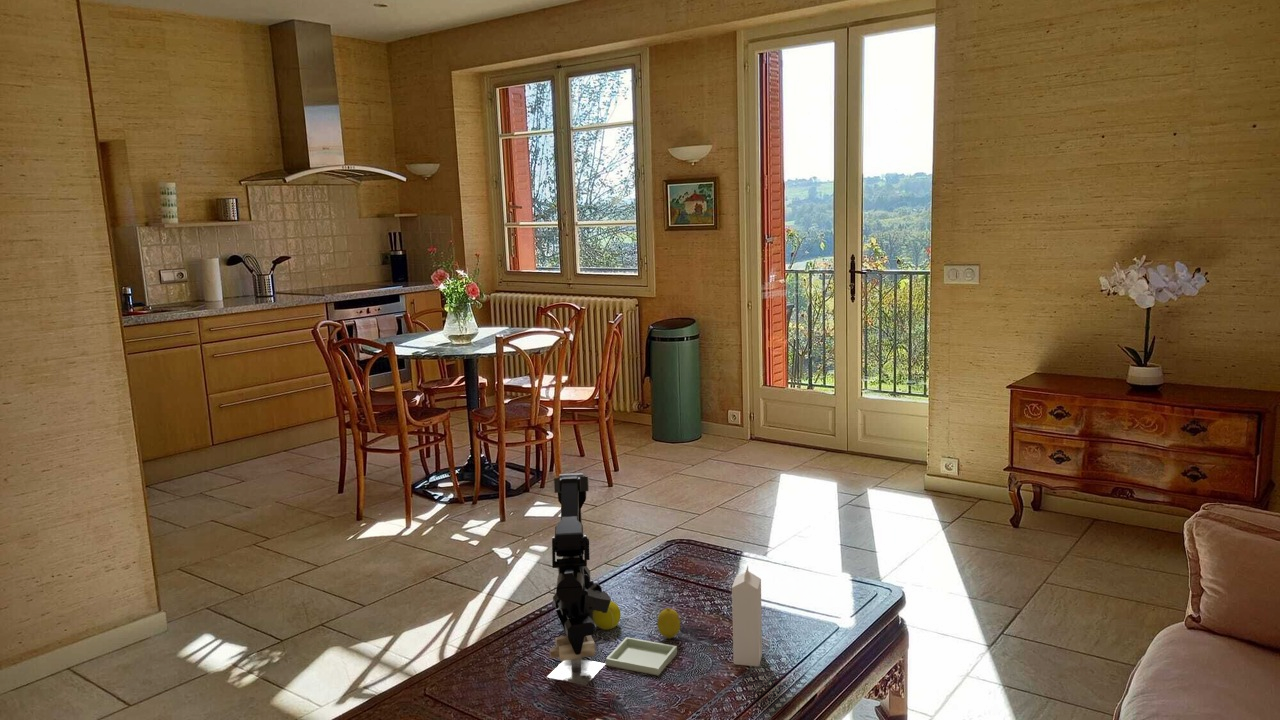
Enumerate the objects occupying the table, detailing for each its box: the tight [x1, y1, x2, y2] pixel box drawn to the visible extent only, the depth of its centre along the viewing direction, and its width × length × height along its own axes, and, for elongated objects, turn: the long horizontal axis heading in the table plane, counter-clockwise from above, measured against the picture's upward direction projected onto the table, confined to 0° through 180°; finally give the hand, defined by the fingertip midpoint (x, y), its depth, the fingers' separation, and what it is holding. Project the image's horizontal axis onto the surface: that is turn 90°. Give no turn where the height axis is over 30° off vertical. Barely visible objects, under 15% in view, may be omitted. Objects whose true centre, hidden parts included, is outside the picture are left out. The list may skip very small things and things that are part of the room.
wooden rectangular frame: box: [549, 635, 596, 662], centre depth 207 cm, size 10×6×3 cm, turn 106°
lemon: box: [657, 607, 681, 640], centre depth 221 cm, size 6×6×8 cm
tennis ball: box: [593, 600, 622, 630], centre depth 228 cm, size 7×7×7 cm
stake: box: [546, 658, 606, 686], centre depth 208 cm, size 10×10×5 cm
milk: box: [731, 565, 763, 667], centre depth 209 cm, size 6×6×22 cm
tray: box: [605, 636, 678, 676], centre depth 212 cm, size 13×11×2 cm
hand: (575, 648), depth 207 cm, fingers closed on wooden rectangular frame, 6 cm apart
